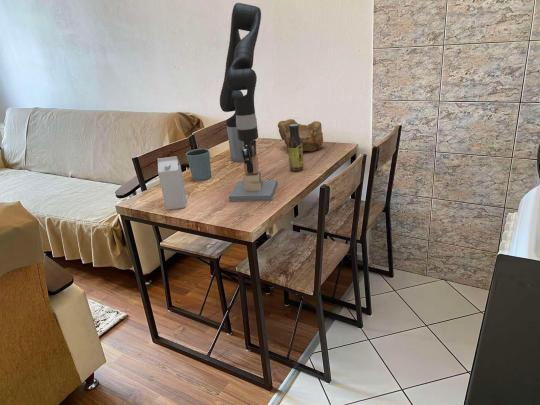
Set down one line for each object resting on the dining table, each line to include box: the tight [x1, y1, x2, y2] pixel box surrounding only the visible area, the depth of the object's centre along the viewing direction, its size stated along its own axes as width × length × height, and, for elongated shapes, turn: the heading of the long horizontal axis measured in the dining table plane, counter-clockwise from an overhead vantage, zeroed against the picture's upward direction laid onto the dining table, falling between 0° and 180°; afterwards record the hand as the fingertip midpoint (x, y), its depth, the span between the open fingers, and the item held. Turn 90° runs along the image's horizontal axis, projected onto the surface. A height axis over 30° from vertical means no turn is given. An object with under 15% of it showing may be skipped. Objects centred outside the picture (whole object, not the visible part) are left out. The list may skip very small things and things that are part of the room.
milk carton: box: [157, 156, 188, 211], centre depth 149 cm, size 7×7×19 cm
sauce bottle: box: [287, 123, 304, 172], centre depth 174 cm, size 6×6×20 cm
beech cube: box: [242, 170, 263, 191], centre depth 155 cm, size 6×6×6 cm
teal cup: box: [185, 148, 212, 182], centre depth 177 cm, size 10×10×12 cm
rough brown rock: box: [277, 118, 324, 154], centre depth 201 cm, size 23×17×15 cm
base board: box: [228, 179, 279, 202], centre depth 157 cm, size 16×16×2 cm
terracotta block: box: [242, 156, 260, 174], centre depth 153 cm, size 5×5×5 cm
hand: (251, 170), depth 154 cm, fingers closed on terracotta block, 4 cm apart
